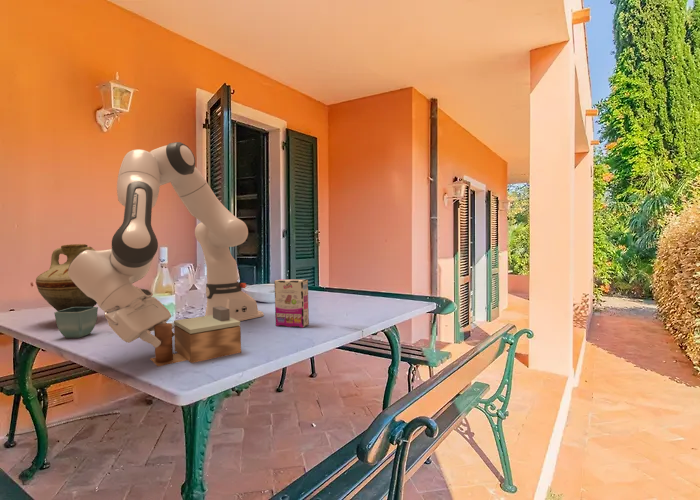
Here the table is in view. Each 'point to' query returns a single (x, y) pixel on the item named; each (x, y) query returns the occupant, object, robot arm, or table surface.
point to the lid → (208, 321)
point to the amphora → (63, 281)
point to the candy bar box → (291, 303)
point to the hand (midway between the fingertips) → (166, 341)
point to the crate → (204, 344)
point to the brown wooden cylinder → (164, 343)
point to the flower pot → (76, 321)
